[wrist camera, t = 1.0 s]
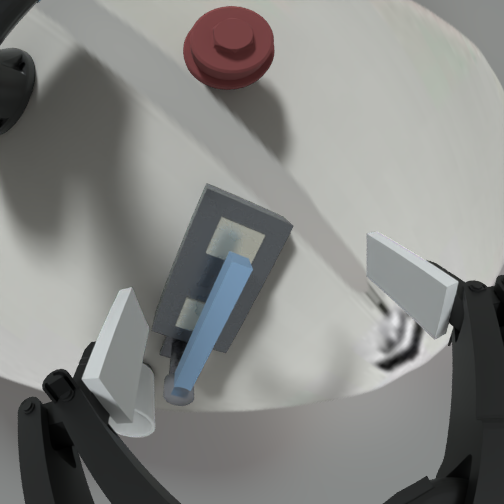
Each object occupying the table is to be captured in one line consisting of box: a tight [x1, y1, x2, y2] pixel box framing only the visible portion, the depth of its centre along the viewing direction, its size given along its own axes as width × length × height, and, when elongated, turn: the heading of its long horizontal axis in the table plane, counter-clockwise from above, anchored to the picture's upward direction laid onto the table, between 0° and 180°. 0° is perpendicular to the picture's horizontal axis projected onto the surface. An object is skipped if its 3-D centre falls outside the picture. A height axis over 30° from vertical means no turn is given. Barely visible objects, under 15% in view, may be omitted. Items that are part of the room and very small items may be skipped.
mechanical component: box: [183, 6, 274, 90], centre depth 26 cm, size 12×10×10 cm
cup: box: [108, 363, 155, 437], centre depth 41 cm, size 10×10×13 cm
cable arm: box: [163, 251, 253, 406], centre depth 34 cm, size 24×4×3 cm, turn 155°
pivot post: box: [160, 336, 188, 374], centre depth 42 cm, size 6×6×9 cm
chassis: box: [152, 183, 293, 353], centre depth 39 cm, size 12×22×5 cm, turn 155°
